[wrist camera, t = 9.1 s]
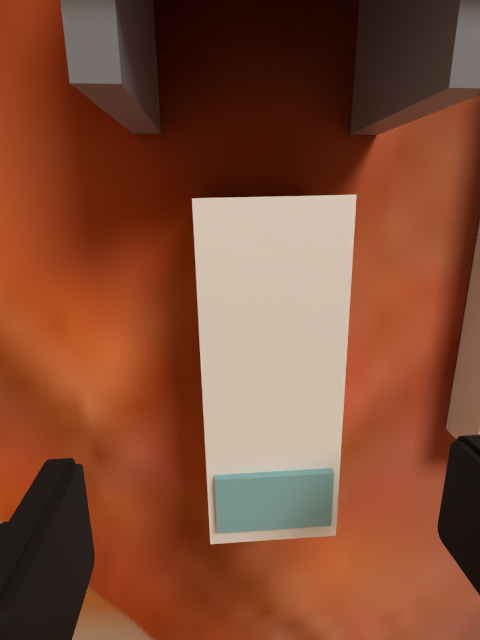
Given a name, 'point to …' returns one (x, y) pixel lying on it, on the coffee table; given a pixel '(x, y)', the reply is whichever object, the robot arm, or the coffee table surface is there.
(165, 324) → the coffee table surface
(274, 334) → the teal-tabbed cream block
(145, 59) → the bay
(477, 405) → the tray
